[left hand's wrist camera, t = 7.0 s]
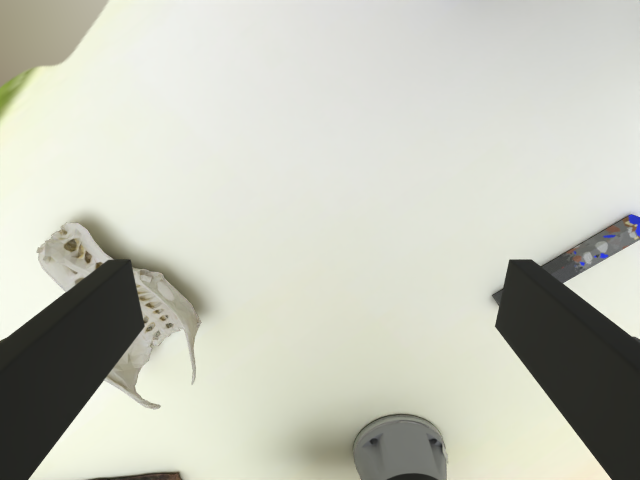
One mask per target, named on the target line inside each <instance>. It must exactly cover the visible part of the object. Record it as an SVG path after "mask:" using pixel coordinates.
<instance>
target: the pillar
mask: <svg viewBox="0 0 640 480" xmlns="http://www.w3.org/2000/svg"><path fill="white" fill-rule="evenodd" d="M638 240H640V217H638V216H635V215H632V214H631V215H629V216H628V217H626V218H624V219H622V220H621V221H619V222H617V223H616V224H614V225H612V226H610V227H609V228H607V229H605V230H604V231H602V232H600V233H599V234H597V235H595V236H593V237H592V238H590V239H588V240H587V241H585V242H583V243H581V244H580V245H578V246H576V247H575V248H573V249H571V250H569V251H568V252H566V253H564V254H563V255H561V256H559V257H557V258H556V259H554V260H552V261H551V262H549V263H547V264H545V265H544V266H542V268H543V269H544V270H546V271H547V272H548V273H550V274H551V275H552V276H554V277H555V278H556V279H557V280H559V281H560V282H561V283H564V282H566V281H568V280H569V279H571V278H573V277H575V276H576V275H578V274H580V273H582V272H583V271H585V270H587V269H589V268H591V267H592V266H594V265H596V264H598V263H599V262H601V261H603V260H605V259H606V258H608V257H610V256H612V255H614V254H615V253H617V252H619V251H621V250H622V249H624V248H626V247H628V246H630V245H631V244H633V243H635V242H637V241H638ZM502 292H503V290H501V291H499V292H497V293H496V294H494V295H492V296H493V298H494V299H495V300H496V302H497V303H498V305H499V306H500V301H501V297H502Z"/></svg>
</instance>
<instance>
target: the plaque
mask: <svg viewBox="0 0 640 480" xmlns="http://www.w3.org/2000/svg"><path fill="white" fill-rule="evenodd" d="M97 480H105V479H97ZM112 480H181V479H180V477H179V473H177V474H152V475H143V476H136V477H129V478H120V479H112Z"/></svg>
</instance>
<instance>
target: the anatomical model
mask: <svg viewBox="0 0 640 480" xmlns="http://www.w3.org/2000/svg"><path fill="white" fill-rule="evenodd" d="M61 229H62V230H60V231H58V232H56V233H54V234H52V235H51V236H52V238H51V239H50V240H48V241H45V243H44V244H42V245H41V247H38V249H37V253H39V257H38V261H39V263H40V265H41V267H42V268H43V269H44V270H45V272H46V273H47V274H48V275H49V276H50V277H51V278H52V279H53V280H54V281H55V282H56V283H57V284H58V285H59V286H60V287H61V288H62V289H63V290H64V291H66V292H67V291H68V290H70V289H71V288H72V287H73V286H75V285H76V284H77V283H79V282H80V281H81V280H83V279H84V278H85V277H86V276H88V275H89V274H90V273H92V272H93V271H94V270H96V269H97V268H98V267H99V266H101V265H102V264H103V263H105V262H106V261H107V260H114V259H112V258H111V257H110V256H108V255H107V254H106V253H104V251H103V250H102V249H101V248H100V247H99V245H98V244H97V243H96V242H95V241H94V239H93V238H92V236H91V235H90V233H89V231H88V230H87V229H86V228H85V227H83V226H82V225H80V224H79V223H66V224H65V225H62V226H61ZM132 269H133V273H134V278H135V283H136V287H137V292H138V297H139V301H140V306H141V310H142V315H143V320H144V324H145V327H144V328H143V330H142V331H141V332H140V334H139V335H138V336H137V337H136V339H135V340H134V341H133V343H132V344H131V345H130V347H129V348H128V349H127V351H126V352H125V353H124V355H123V356H122V357H121V358H120V360H119V361H118V362H117V364H116V365H115V366H114V368H113V369H112V370H111V372H110V373H109V374H108V376H107V377H106V378H105V379H104V381H106V382H108V383H110V384H111V385H113V386H115V387H116V388H118V389H120V390H121V391H123V392H124V393H126V394H127V395H129V396H130V397H131V398H133V399H134V400H135V401H137V402H138V403H140V404H141V405H143V406H144V407H146V408H151V409H154V410H155V409H159V408H160V405H157V404H153V403H150V402H148V401H147V400H144V399H142V398H141V396H140V395H139V394H138V393H137V392H136V389H135V385H136V383H137V378H138V374H139V372H140V370H141V368H142V367H143V365H144V364H145V363H146V362H148V361H149V357H150V353H151V350H152V348H151V347H150V345H151V344H152V343H153V345H155V346H159V345H160V344H161V342H162V341H163V340H164V339H165V337H168V336H170V335H171V333H173V332H176V331H180V329H184V331H185V334H186V338H187V342H188V347H189V353H190V358H191V363H192V369H193V376H192V385H193V383H194V381H195V376H196V367H195V358H194V349H193V348H194V341H195V335H196V333H197V330H198V328H199V326H200V324H201V321H200V319H199V317H198V315H197V313H196V312H195V310H194V307H193V305H192V304H191V303H190V302H189V301H188V300H187V299H186V298H185V297H184V296H183V295H181V293H180V292H179V291H178V290H177V289H175V288H174V287H173V286H172V285H171V284H170V283H169V282H168V281H167V280H166V279H165V278H164V276H163V274H162V273H159V272H152V271H149V270H146V269H137V268H133V267H132ZM166 315H168V318H167V317H166ZM169 323H172V324H173V326H172V327H170V324H169ZM151 326H152V329H151V328H149V327H151ZM179 328H180V329H179ZM158 331H159V332H160V335H159V336H158V337H156V334H157V332H158Z"/></svg>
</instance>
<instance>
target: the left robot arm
mask: <svg viewBox="0 0 640 480" xmlns="http://www.w3.org/2000/svg"><path fill="white" fill-rule="evenodd" d="M144 327H145V324H144V320H143V315H142V310H141V306H140V301H139V297H138V292H137V287H136V283H135V278H134V273H133V269H132V264H131V260H107V261H106V262H105V263H103V264H102V265H101V266H99V267H98V268H97V269H96V270H94V271H93V272H92V273H90V274H89V275H88V276H86V277H85V278H84V279H83V280H81V281H80V282H79V283H77V284H76V285H75V286H73V287H72V288H71V289H70V290H68V291H67V292H66V293H64V294H63V295H62V296H60V297H59V298H58V299H57V300H55V301H54V302H53V303H51V304H50V305H49V306H47V307H46V308H45V309H44V310H42V311H41V312H40V313H38V314H37V315H36V316H34V317H33V318H32V319H31V320H29V321H28V322H27V323H25V324H24V325H23V326H22V327H20V328H19V329H18V330H16V331H15V332H14V333H12V334H11V335H10V336H9V337H7V338H5V339H3V340H1V341H0V480H28V479H29V478H30V477H31V475H32V474H33V473H34V471H35V470H36V469H37V467H38V466H39V465H40V463H41V462H42V461H43V459H44V458H45V457H46V456H47V454H48V453H49V452H50V450H51V449H52V448H53V446H54V445H55V444H56V442H57V441H58V440H59V438H60V437H61V436H62V435H63V433H64V432H65V431H66V429H67V428H68V427H69V425H70V424H71V423H72V421H73V420H74V419H75V418H76V416H77V415H78V414H79V412H80V411H81V410H82V408H83V407H84V406H85V404H86V403H87V402H88V400H89V399H90V398H91V397H92V395H93V394H94V393H95V391H96V390H97V389H98V387H99V386H100V385H101V383H102V382H103V381H104V379H105V378H106V377H107V376H108V374H109V373H110V372H111V370H112V369H113V368H114V366H115V365H116V364H117V362H118V361H119V360H120V358H121V357H122V356H123V355H124V353H125V352H126V351H127V349H128V348H129V347H130V345H131V344H132V343H133V341H134V340H135V339H136V337H137V336H138V335H139V334H140V332H141V331H142V330H143V328H144ZM495 327H496V328H497V330H498V331H499V332H500V334H501V335H502V336H503V337H504V339H505V340H506V341H507V343H508V344H509V345H510V347H511V348H512V349H513V351H514V352H515V353H516V355H517V356H518V357H519V358H520V360H521V361H522V362H523V364H524V365H525V366H526V368H527V369H528V370H529V372H530V373H531V374H532V376H533V377H534V378H535V379H536V381H537V382H538V383H539V385H540V386H541V387H542V389H543V390H544V391H545V393H546V394H547V395H548V397H549V398H550V399H551V400H552V402H553V403H554V404H555V406H556V407H557V408H558V410H559V411H560V412H561V414H562V415H563V416H564V418H565V419H566V420H567V421H568V423H569V424H570V425H571V427H572V428H573V429H574V431H575V432H576V433H577V435H578V436H579V437H580V438H581V440H582V441H583V442H584V444H585V445H586V446H587V448H588V449H589V450H590V452H591V453H592V454H593V456H594V457H595V458H596V459H597V461H598V462H599V463H600V465H601V466H602V467H603V469H604V470H605V471H606V473H607V474H608V475H609V477H610V478H611V479H612V480H640V339H638V338H636V337H631V336H630V335H629V334H628V333H626V332H625V331H624V330H622V329H621V328H620V327H618V326H617V325H616V324H615V323H613V322H612V321H611V320H609V319H608V318H607V317H606V316H604V315H603V314H602V313H600V312H599V311H598V310H596V309H595V308H594V307H593V306H591V305H590V304H589V303H587V302H586V301H585V300H583V299H582V298H581V297H580V296H578V295H577V294H576V293H574V292H573V291H572V290H570V289H569V288H568V287H567V286H565V285H564V284H563V283H561V282H560V281H559V280H557V279H556V278H555V277H554V276H552V275H551V274H550V273H548V272H547V271H546V270H544V269H543V268H542V267H541V266H539V265H538V264H537V263H535V262H534V261H533V260H509V264H508V269H507V273H506V278H505V283H504V287H503V292H502V297H501V301H500V306H499V310H498V315H497V320H496V324H495ZM353 453H354V462H355V465H356V469H357V471H358V473H359V476H360V478H361V480H447V477H446V461H447V463H448V454H447V452H446V449H445V445H444V442H443V439H442V436H441V434H440V432H439V431H438V429H437V428H436V427H435V426H434V425H433V424H431V423H430V422H428V421H426V420H424V419H422V418H419V417H416V416H411V415H393V416H387V417H384V418H381V419H378V420H376V421H374V422H372V423H370V424H369V425H367V426H366V427H365V428H364V429H363V430H362V431H361V432H360V433H359V434H358V436H357V437H356V439H355V442H354V447H353Z"/></svg>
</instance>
